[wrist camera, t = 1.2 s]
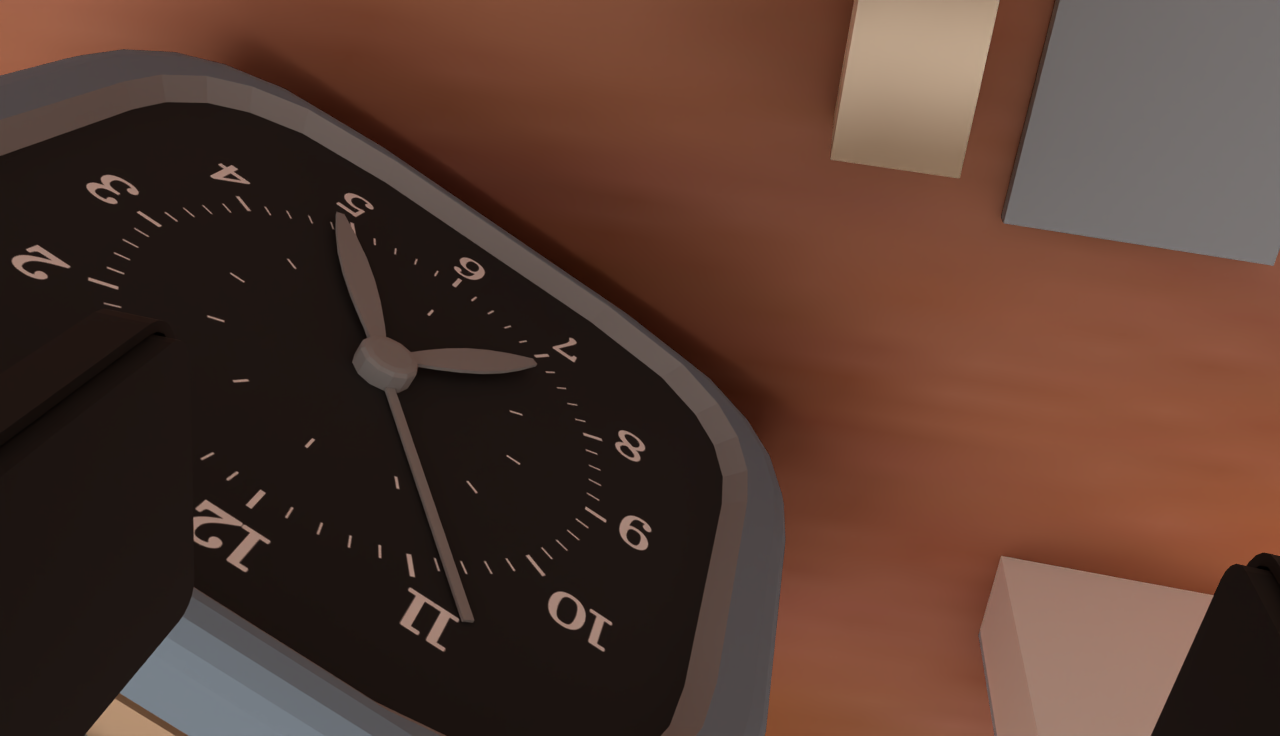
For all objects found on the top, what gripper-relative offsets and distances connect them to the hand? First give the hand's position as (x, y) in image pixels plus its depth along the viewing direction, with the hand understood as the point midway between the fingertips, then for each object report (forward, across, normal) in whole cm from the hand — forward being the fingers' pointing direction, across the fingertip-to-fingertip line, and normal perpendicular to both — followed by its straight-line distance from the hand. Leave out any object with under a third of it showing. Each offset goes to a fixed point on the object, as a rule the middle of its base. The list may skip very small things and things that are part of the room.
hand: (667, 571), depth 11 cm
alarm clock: (+24, +9, +10) cm, 27 cm away
